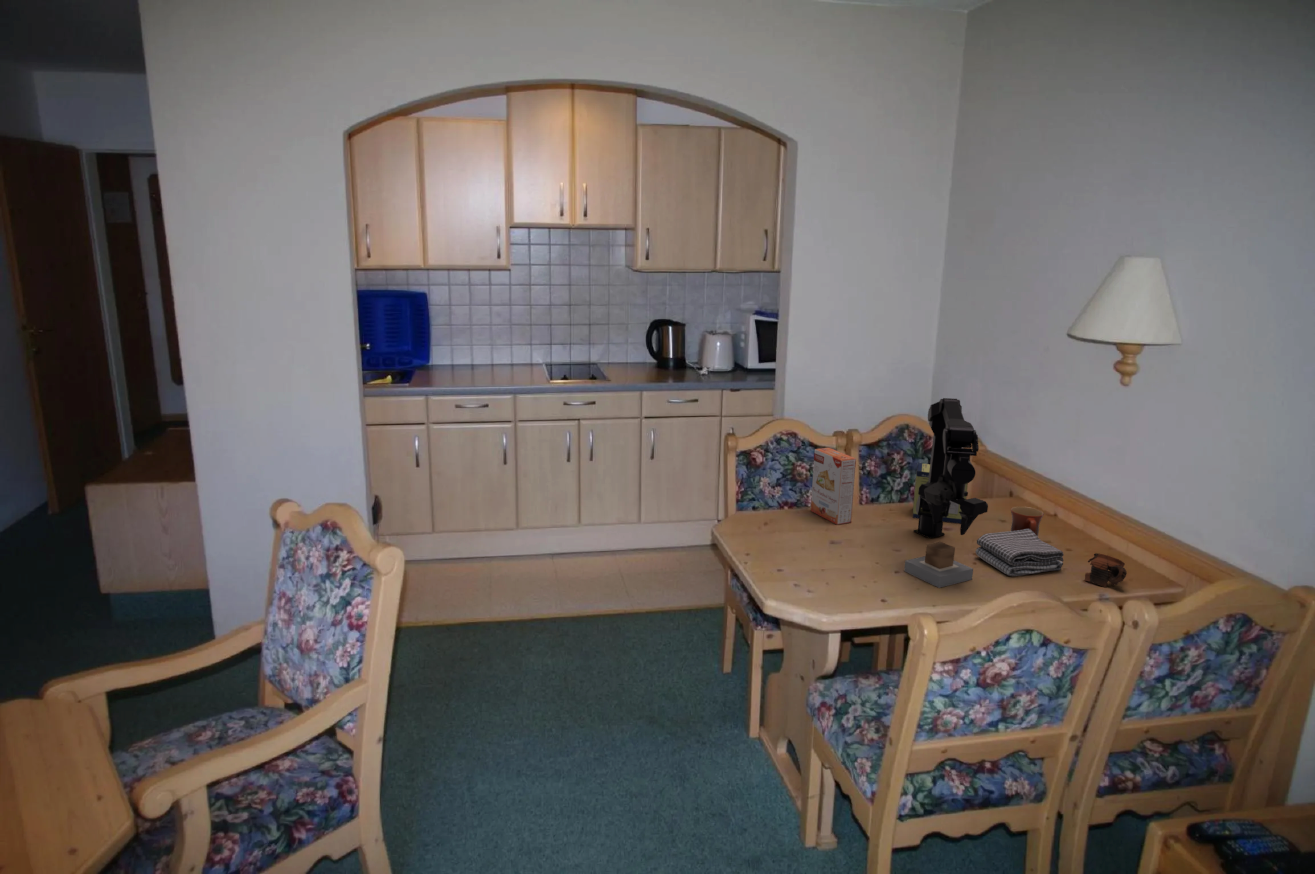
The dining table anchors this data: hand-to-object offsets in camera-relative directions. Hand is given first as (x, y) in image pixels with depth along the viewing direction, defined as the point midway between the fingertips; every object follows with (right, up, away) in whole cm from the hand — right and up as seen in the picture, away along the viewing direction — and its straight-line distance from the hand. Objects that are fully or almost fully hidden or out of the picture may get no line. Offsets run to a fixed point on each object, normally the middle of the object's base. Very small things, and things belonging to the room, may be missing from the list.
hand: (948, 528), depth 223 cm
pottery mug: (+40, -14, -2) cm, 42 cm away
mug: (+29, -8, +22) cm, 37 cm away
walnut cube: (-3, -9, -1) cm, 10 cm away
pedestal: (-3, -12, -1) cm, 12 cm away
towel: (+22, -11, +8) cm, 26 cm away
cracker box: (-22, -1, +43) cm, 48 cm away
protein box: (+13, -1, +47) cm, 48 cm away
